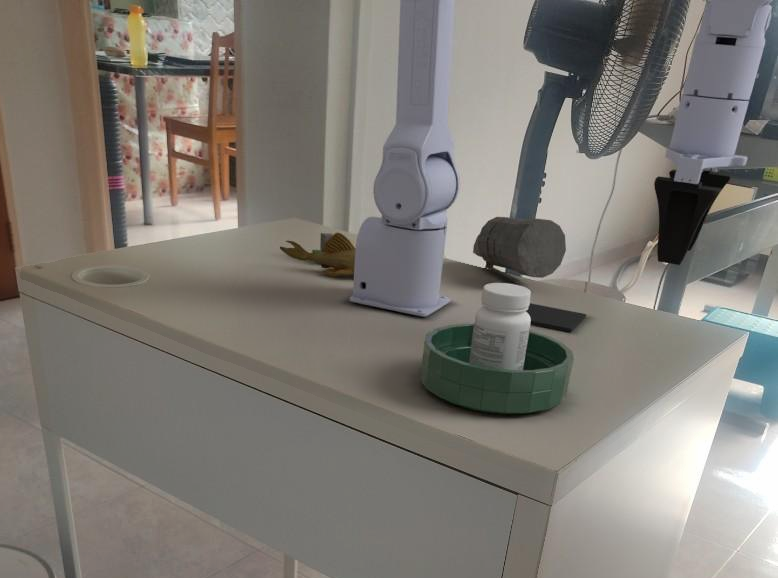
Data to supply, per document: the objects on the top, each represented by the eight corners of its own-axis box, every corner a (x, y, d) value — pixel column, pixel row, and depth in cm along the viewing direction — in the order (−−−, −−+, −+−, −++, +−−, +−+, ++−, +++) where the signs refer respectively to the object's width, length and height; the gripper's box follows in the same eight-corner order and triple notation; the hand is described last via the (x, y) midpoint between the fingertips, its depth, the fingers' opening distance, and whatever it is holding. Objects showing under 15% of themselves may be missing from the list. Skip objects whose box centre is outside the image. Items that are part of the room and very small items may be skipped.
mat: (504, 319, 94) (505, 315, 93) (522, 305, 99) (523, 301, 99) (571, 332, 91) (571, 328, 91) (585, 317, 97) (586, 314, 96)
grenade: (512, 288, 102) (457, 273, 115) (568, 290, 105) (509, 275, 118) (521, 218, 99) (464, 210, 112) (579, 222, 102) (517, 214, 115)
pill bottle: (503, 373, 77) (518, 280, 72) (529, 392, 73) (547, 295, 69) (456, 376, 75) (469, 281, 71) (481, 396, 71) (496, 297, 67)
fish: (378, 288, 102) (383, 247, 100) (272, 266, 104) (274, 225, 101) (386, 277, 106) (392, 237, 104) (284, 256, 108) (287, 216, 105)
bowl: (397, 395, 71) (401, 350, 69) (450, 355, 81) (455, 314, 79) (542, 431, 67) (551, 384, 65) (579, 384, 77) (588, 342, 75)
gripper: (757, 105, 67) (709, 277, 74) (767, 99, 78) (724, 249, 85) (668, 95, 69) (629, 263, 76) (690, 92, 81) (654, 238, 88)
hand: (674, 255), depth 81 cm, fingers open, 7 cm apart
